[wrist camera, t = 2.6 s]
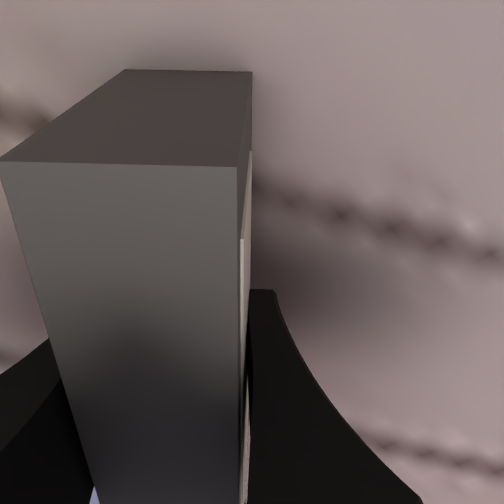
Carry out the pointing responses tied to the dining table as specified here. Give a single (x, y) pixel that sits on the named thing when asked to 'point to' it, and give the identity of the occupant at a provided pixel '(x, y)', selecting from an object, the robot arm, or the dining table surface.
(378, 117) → the dining table surface
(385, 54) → the dining table surface
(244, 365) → the grey rectangular block
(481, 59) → the dining table surface
